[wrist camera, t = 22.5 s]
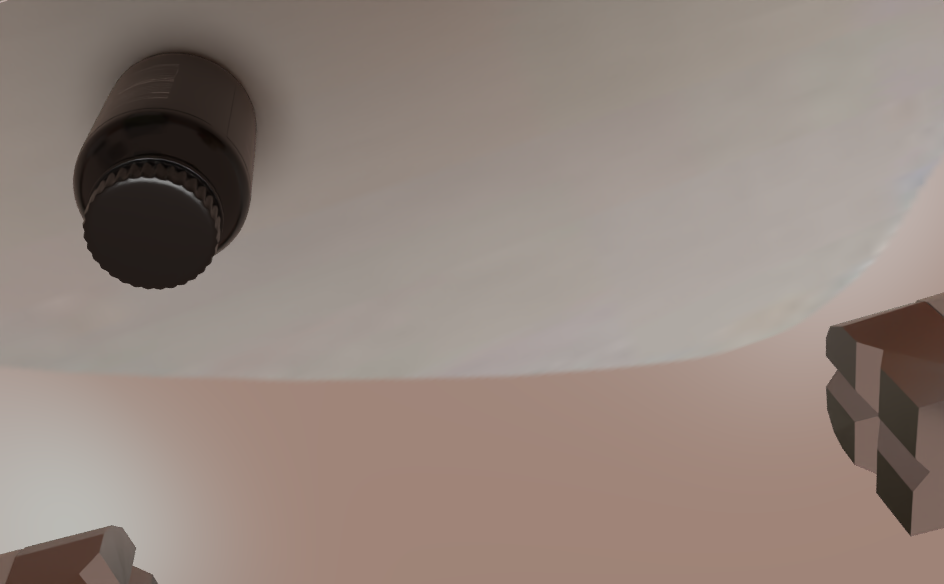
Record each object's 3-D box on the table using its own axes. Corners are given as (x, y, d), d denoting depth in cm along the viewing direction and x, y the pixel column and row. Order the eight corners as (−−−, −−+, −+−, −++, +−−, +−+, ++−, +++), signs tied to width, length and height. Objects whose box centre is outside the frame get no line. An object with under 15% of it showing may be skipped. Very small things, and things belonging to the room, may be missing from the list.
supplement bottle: (102, 171, 44) (40, 297, 33) (117, 33, 40) (53, 125, 30) (246, 198, 45) (229, 326, 35) (271, 68, 42) (259, 167, 32)
